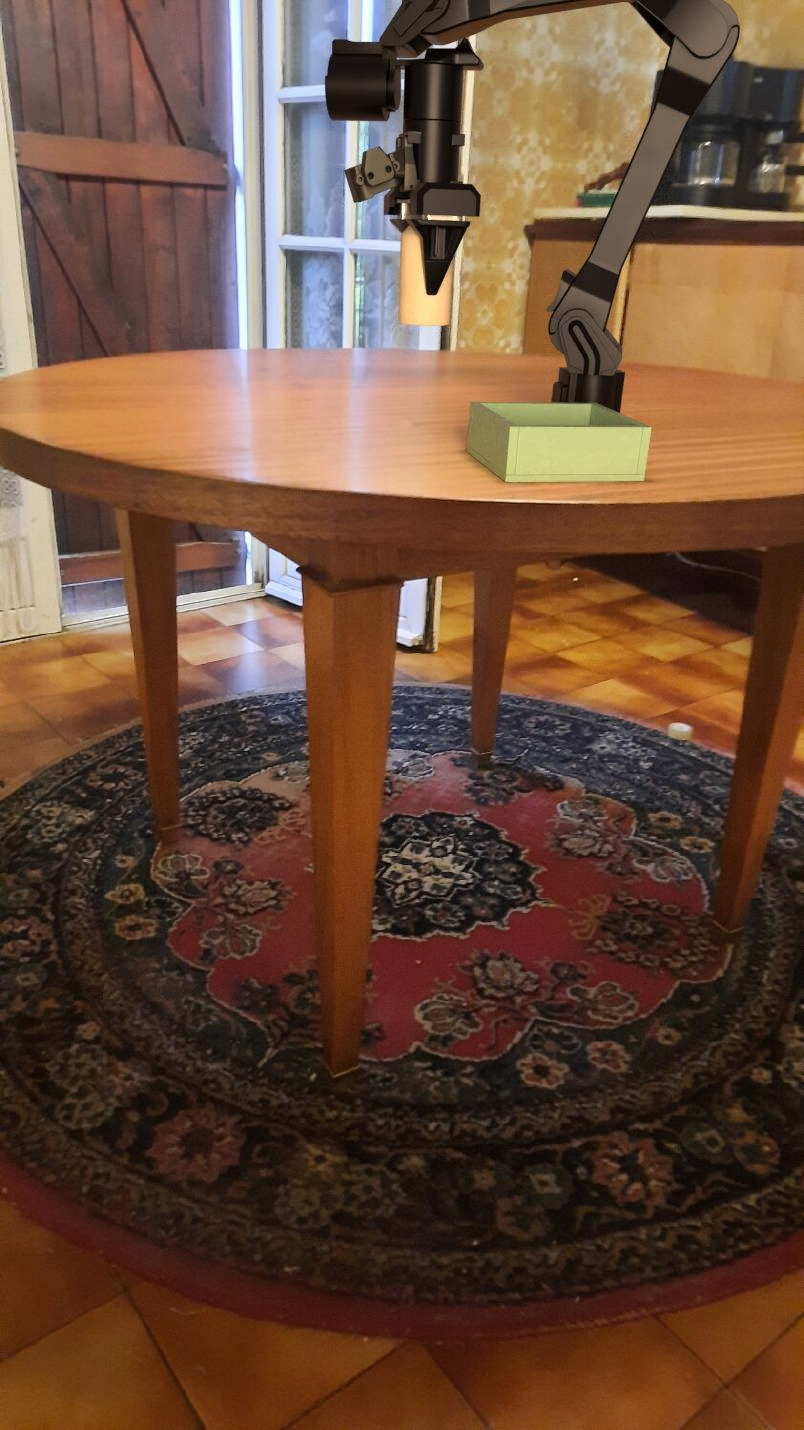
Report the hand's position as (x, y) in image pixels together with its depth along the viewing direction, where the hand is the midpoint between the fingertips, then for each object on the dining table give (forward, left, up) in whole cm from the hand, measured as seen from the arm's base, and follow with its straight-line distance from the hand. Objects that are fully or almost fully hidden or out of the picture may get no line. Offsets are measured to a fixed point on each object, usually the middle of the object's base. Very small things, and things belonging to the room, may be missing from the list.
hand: (425, 293), depth 107 cm
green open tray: (-7, +25, -13) cm, 29 cm away
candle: (0, 0, -3) cm, 3 cm away
